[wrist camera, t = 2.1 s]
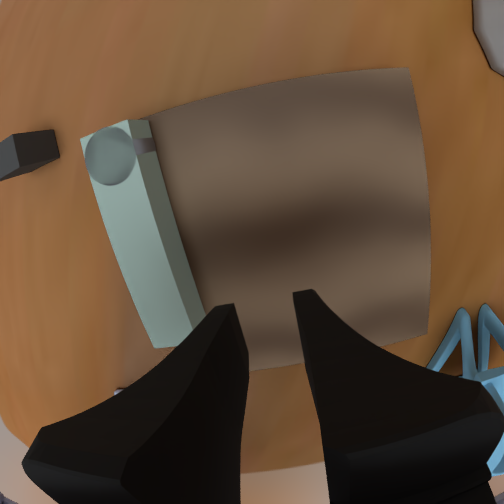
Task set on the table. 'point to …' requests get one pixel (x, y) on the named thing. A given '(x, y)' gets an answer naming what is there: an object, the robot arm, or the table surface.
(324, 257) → the stool seat
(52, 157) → the block
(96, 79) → the table surface
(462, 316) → the chair
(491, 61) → the flask
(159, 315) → the folding leg
